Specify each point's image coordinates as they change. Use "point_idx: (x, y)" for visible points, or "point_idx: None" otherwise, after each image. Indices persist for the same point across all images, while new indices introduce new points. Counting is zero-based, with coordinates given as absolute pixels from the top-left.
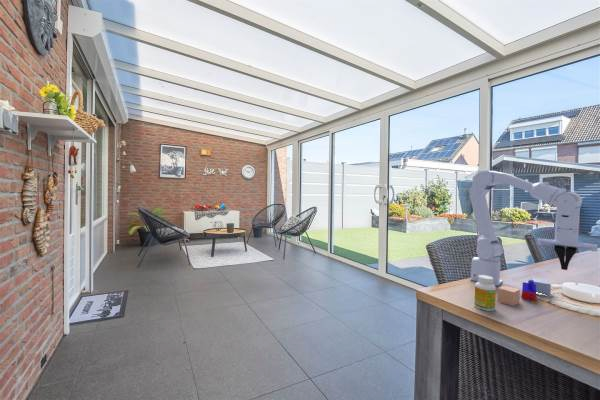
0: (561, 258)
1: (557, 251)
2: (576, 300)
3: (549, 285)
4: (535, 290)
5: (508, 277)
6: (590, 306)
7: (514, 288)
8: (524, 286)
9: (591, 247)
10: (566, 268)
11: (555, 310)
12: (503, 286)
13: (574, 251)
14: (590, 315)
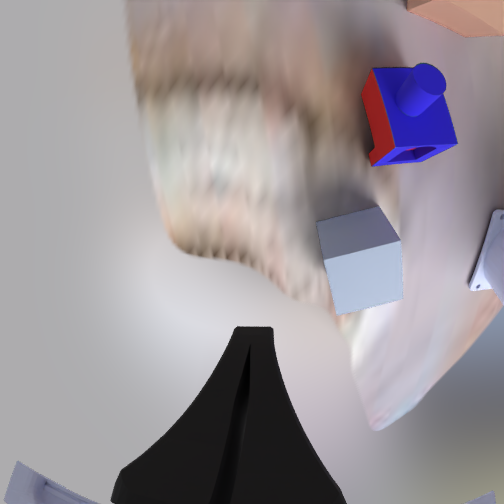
0: (268, 411)
1: (311, 486)
2: (225, 255)
3: (327, 253)
4: (382, 89)
5: (436, 346)
6: (172, 216)
7: (462, 2)
8: (438, 105)
9: (29, 499)
10: (235, 333)
11: (263, 18)
12: (500, 13)
13: (115, 488)
14: (146, 86)
